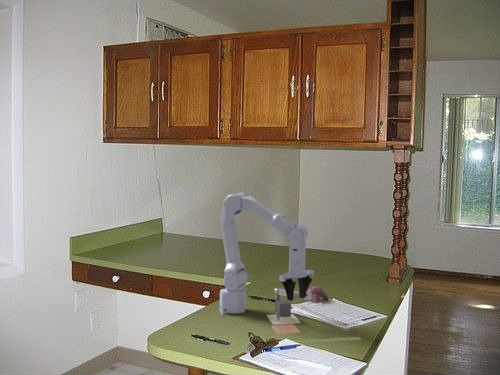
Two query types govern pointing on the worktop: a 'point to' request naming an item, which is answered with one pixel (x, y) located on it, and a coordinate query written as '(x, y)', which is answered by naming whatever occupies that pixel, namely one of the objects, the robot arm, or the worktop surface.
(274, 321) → the socket
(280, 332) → the tile
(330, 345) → the worktop surface
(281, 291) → the white square rod
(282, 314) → the plug
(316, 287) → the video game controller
